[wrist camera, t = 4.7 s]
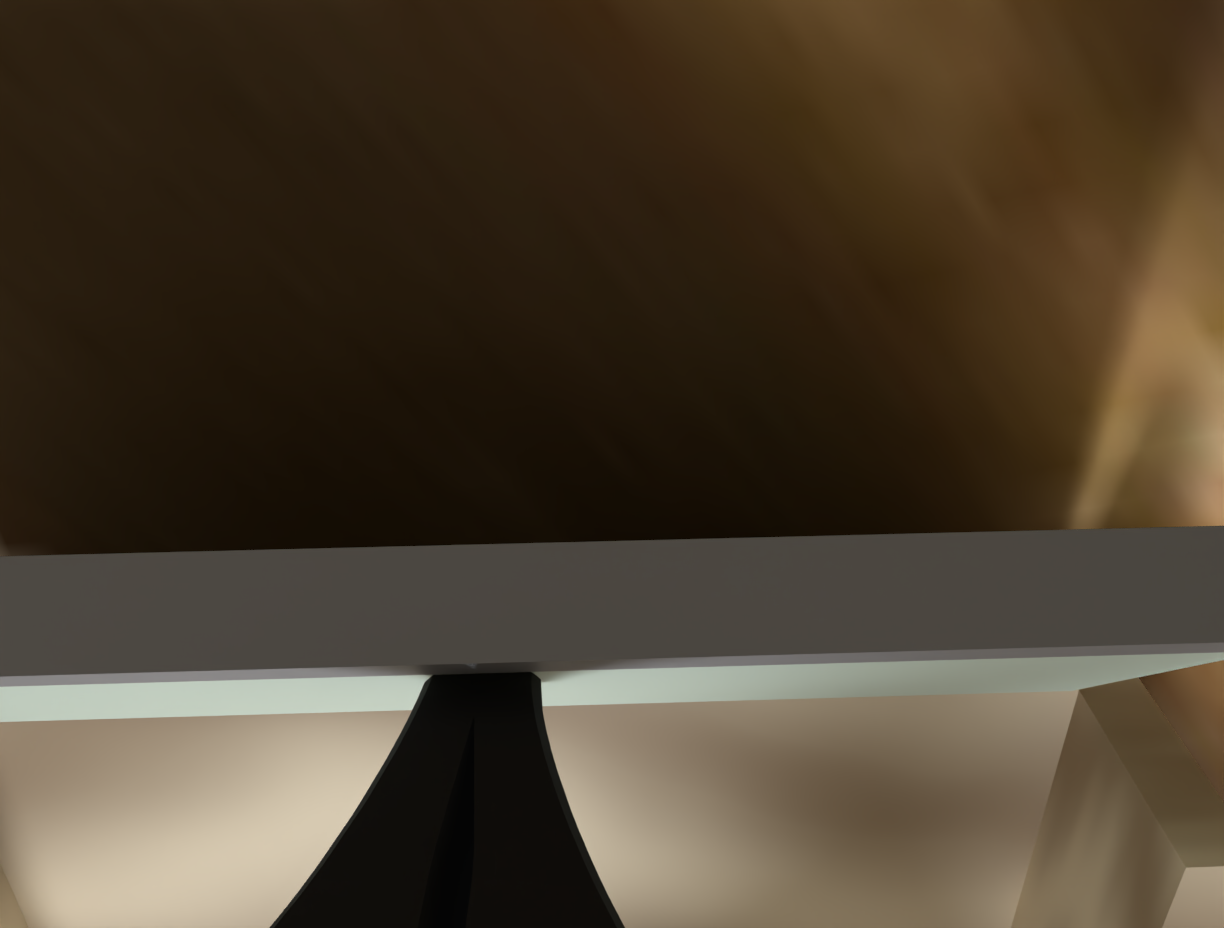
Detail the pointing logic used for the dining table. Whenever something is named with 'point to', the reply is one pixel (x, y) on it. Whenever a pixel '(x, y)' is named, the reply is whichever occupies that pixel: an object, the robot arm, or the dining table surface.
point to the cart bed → (656, 812)
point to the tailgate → (605, 620)
